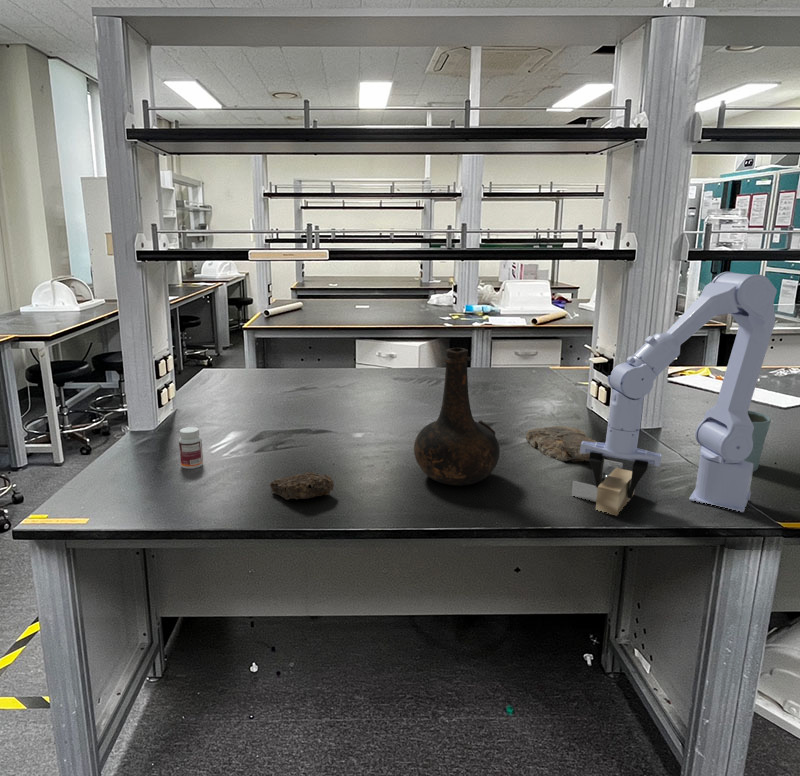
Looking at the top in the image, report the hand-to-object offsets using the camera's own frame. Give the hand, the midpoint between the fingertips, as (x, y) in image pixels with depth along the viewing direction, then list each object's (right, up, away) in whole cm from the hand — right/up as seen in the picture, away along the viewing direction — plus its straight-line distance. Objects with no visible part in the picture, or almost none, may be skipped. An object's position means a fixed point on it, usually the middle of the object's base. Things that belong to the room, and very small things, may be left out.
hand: (614, 493), depth 118 cm
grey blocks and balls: (-1, 0, +8) cm, 8 cm away
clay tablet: (-2, +5, +29) cm, 29 cm away
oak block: (0, -2, 0) cm, 2 cm away
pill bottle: (-88, +3, +18) cm, 90 cm away
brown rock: (-61, -1, +2) cm, 61 cm away
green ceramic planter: (+35, +3, +20) cm, 41 cm away
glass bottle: (-30, +1, +12) cm, 32 cm away
